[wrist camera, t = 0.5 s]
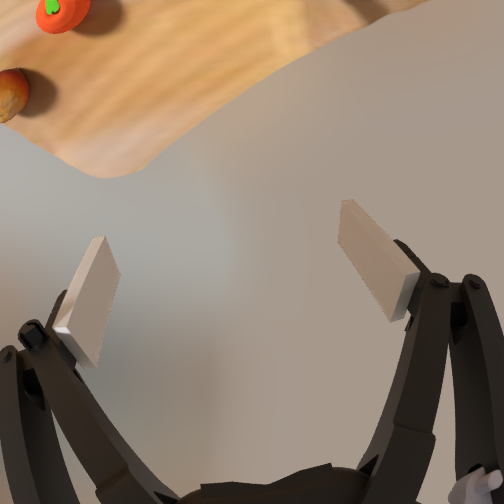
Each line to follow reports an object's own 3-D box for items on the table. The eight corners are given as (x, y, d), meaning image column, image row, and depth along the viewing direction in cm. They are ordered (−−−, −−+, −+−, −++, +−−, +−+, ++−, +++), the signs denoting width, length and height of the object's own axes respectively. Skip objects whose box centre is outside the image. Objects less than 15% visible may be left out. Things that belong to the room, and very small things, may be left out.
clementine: (41, -9, 16) (18, -3, 12) (90, -33, 16) (73, -34, 12) (55, 36, 22) (34, 49, 18) (101, 15, 23) (87, 23, 19)
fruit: (20, 46, 20) (5, 90, 20) (41, 76, 28) (32, 118, 27) (-21, 70, 19) (-36, 115, 18) (2, 94, 26) (-7, 136, 26)
